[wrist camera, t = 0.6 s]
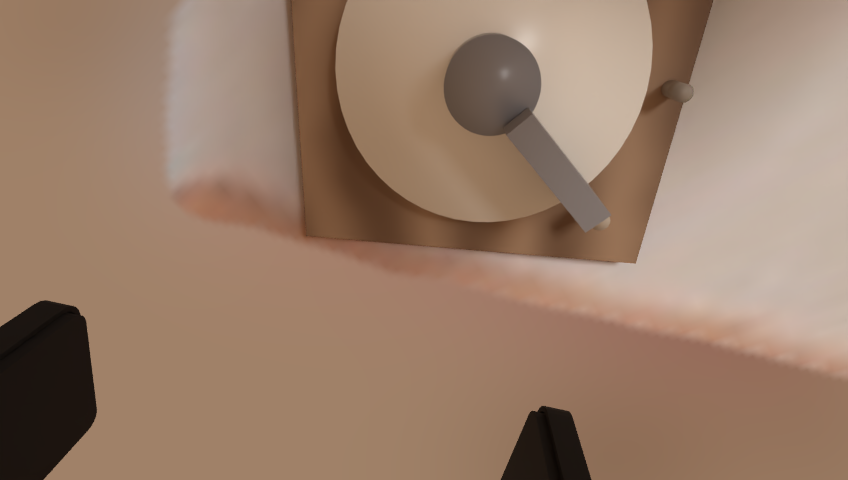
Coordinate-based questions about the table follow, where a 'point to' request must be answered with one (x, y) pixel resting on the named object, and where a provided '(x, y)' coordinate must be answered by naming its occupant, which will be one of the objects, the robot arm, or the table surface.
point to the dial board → (535, 235)
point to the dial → (493, 99)
